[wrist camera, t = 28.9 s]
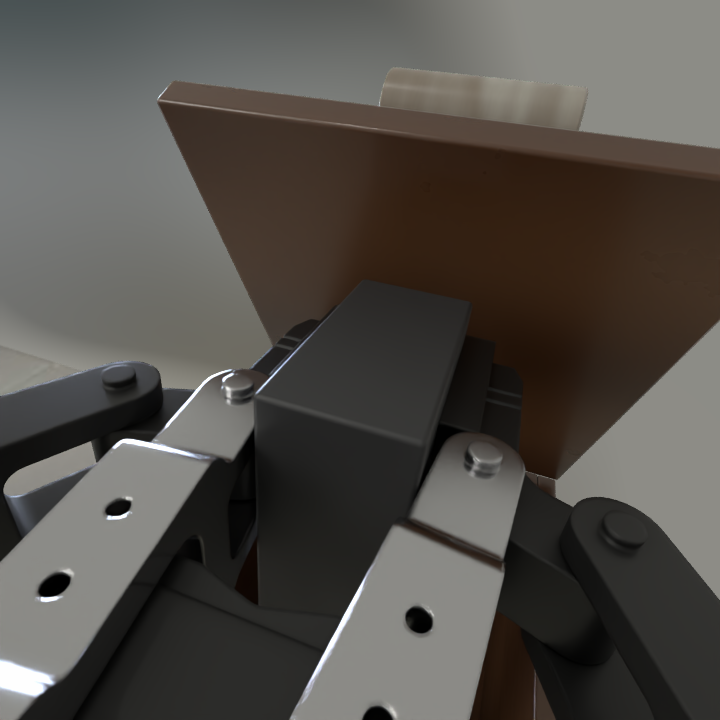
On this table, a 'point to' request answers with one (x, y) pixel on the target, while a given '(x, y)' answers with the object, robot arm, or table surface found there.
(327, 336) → the tall charcoal box
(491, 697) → the chest
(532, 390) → the lid
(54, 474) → the table surface
